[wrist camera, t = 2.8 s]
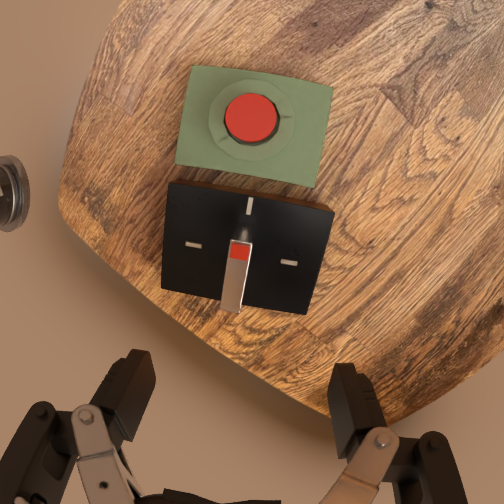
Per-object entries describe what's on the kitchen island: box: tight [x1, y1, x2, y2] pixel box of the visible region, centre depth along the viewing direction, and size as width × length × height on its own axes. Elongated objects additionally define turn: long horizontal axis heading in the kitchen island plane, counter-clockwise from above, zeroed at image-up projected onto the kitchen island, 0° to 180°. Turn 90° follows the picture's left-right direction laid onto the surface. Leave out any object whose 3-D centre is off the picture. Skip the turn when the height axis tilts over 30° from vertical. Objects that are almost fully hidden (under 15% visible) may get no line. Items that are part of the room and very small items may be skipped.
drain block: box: [174, 65, 334, 188], centre depth 21 cm, size 12×9×4 cm
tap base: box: [161, 179, 335, 315], centre depth 26 cm, size 14×10×3 cm
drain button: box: [225, 93, 277, 142], centre depth 19 cm, size 4×4×2 cm
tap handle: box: [220, 221, 256, 313], centre depth 22 cm, size 6×2×5 cm, turn 170°
